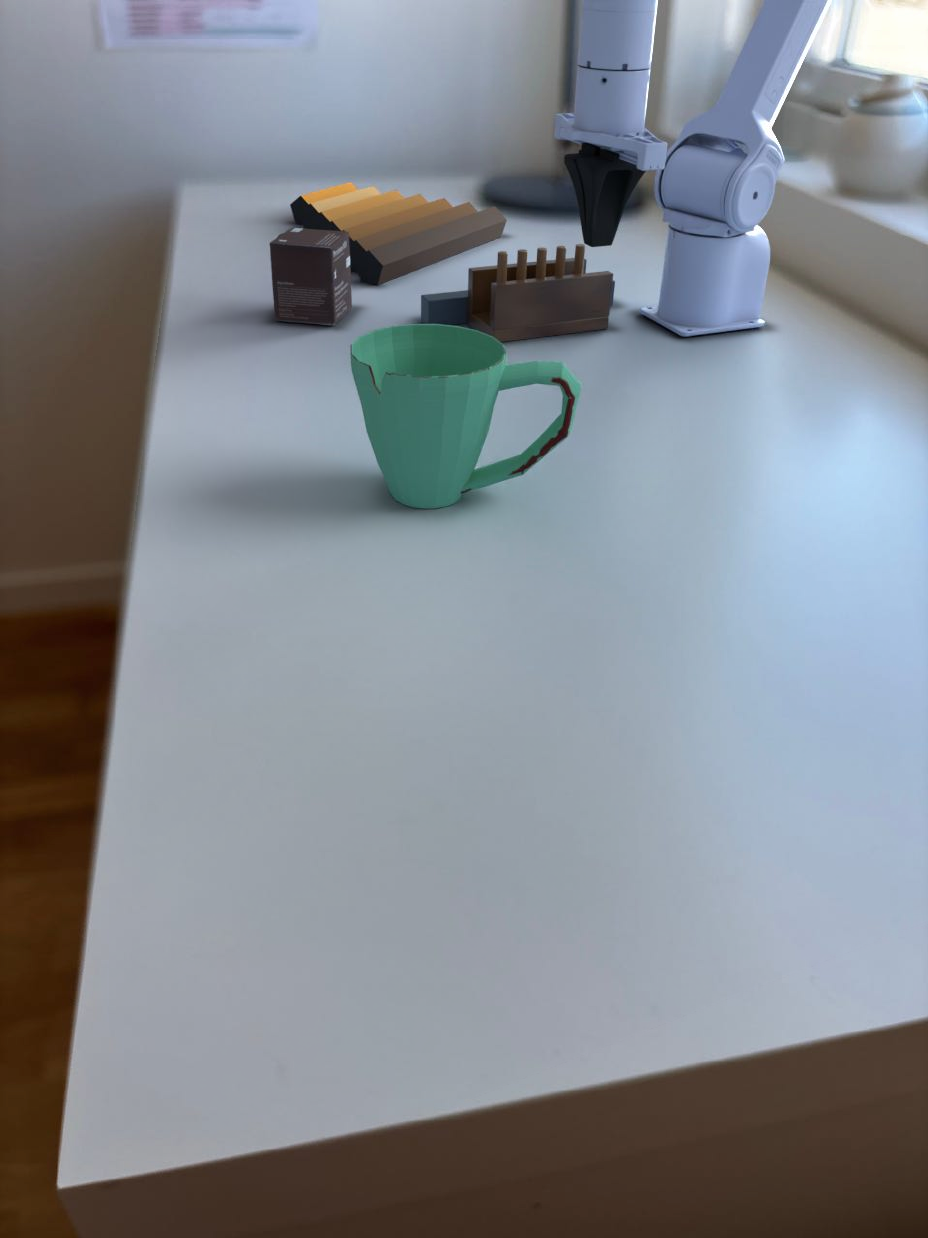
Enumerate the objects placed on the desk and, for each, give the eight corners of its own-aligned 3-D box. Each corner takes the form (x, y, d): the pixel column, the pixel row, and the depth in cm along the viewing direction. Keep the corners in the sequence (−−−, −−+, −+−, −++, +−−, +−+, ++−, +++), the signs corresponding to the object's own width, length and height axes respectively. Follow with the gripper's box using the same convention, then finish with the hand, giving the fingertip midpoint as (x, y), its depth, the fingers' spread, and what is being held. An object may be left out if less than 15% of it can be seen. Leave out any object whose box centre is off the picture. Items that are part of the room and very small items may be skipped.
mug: (342, 522, 70) (337, 372, 65) (365, 457, 78) (362, 319, 73) (572, 535, 69) (586, 385, 64) (570, 469, 78) (583, 330, 72)
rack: (577, 310, 108) (583, 235, 104) (608, 328, 104) (615, 251, 100) (466, 323, 104) (468, 245, 100) (493, 343, 99) (497, 262, 96)
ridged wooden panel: (383, 286, 113) (506, 237, 131) (382, 252, 111) (507, 208, 129) (205, 247, 124) (340, 207, 142) (202, 216, 122) (339, 179, 140)
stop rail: (603, 300, 111) (605, 275, 110) (613, 305, 110) (615, 280, 108) (420, 320, 104) (420, 294, 103) (428, 327, 103) (428, 300, 101)
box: (334, 327, 102) (331, 247, 98) (273, 322, 103) (267, 241, 99) (353, 308, 107) (350, 230, 103) (294, 302, 108) (289, 226, 104)
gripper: (526, 56, 90) (518, 227, 97) (616, 80, 79) (599, 271, 86) (601, 54, 92) (587, 221, 100) (699, 77, 81) (675, 263, 89)
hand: (597, 244), depth 93 cm, fingers closed
